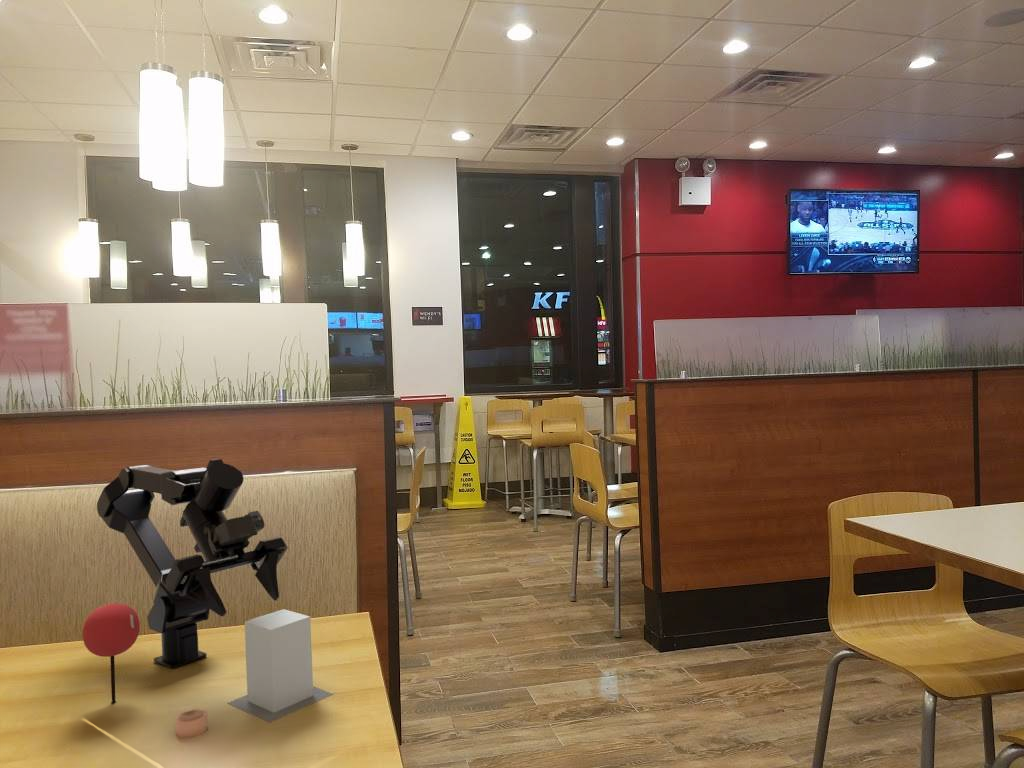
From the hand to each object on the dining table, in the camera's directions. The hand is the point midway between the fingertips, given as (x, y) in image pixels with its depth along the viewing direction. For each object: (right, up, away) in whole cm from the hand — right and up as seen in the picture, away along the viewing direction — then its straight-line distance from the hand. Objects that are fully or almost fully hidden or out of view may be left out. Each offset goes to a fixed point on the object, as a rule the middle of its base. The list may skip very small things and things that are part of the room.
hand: (251, 606), depth 114 cm
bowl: (-3, -14, -14) cm, 19 cm away
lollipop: (-20, -14, -3) cm, 25 cm away
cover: (+6, -13, -4) cm, 14 cm away
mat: (+6, -13, -4) cm, 15 cm away
